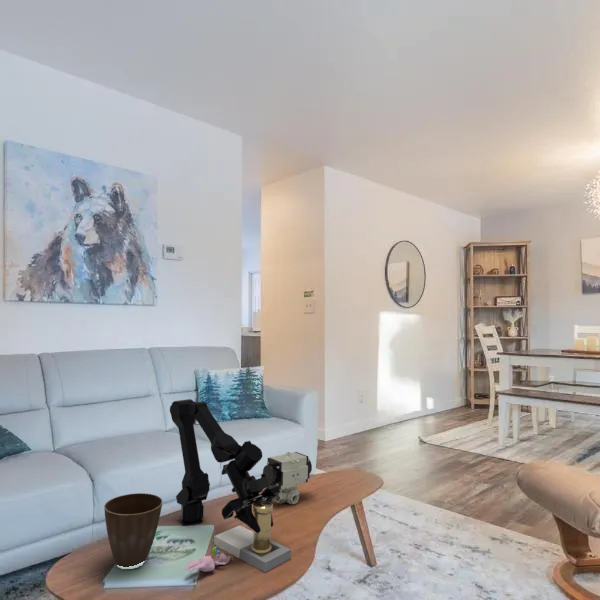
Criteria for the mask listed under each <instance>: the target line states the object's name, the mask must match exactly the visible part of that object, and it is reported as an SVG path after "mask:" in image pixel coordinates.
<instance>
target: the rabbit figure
mask: <svg viewBox="0 0 600 600" xmlns="http://www.w3.org/2000/svg"><path fill="white" fill-rule="evenodd" d="M218 548H219V547H218V546H215V545H214V547H212V549H211V553H212V554H213V555H215V558H212V555H203V556H202V557H200V558H198V559H197V560H192V561H189V562H188V563H187V565H186V566H185V571H187V570H189V571H188V573H191V572H193V571H195V570H200V571H201V572H203V573H204V572H205V573H207V572H213V571H214V570H215V567H216V566H219V565H222V566H223V565H228V564H229V562H230V560H231V561H234V555H232V554H230V555H228V552H227V551H223V552H221V551H220V550H219V549H218Z"/></svg>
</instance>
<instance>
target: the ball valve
mask: <svg viewBox="0 0 600 600" xmlns="http://www.w3.org/2000/svg"><path fill="white" fill-rule="evenodd" d="M312 470H313V465H312V462H311V460H310V458H309V456H308V455H306V454H303V453H300V452H298V451H293V452H290V451H287V452H285V453H283V454H281V455H275V456H271V457H267V461H266V465H265V466H264V467H263V469H262V474H264V473H267V472H269V474H270V475H271V477H272V483H270V487H271V486H273V485H275V486H278V488H279V490H280V493H279V494H278V495H277V496H276V497H275V498H274V499H273V500H274V501H275V502H276V504H285V503H287V504H289V505H295V504H297V503H298V502H299V499H300V495H301V494H300V493H301V492H300V489H299V488H298V487H297V486H298V485H302V484H305V483H309V481H308V480H309V479H310V474H311V473H312Z"/></svg>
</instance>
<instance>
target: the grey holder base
mask: <svg viewBox="0 0 600 600" xmlns="http://www.w3.org/2000/svg"><path fill="white" fill-rule="evenodd" d="M253 535H254V530H253V531H252V529H251V530H250V529H248V528H246V527H244V526H242V525H237V526H236V527H232V528H229V529H227V530H225V531H222V532H221V533H218V534H216V535H214V536H213V545H214V546H215V545H216V546H218V547H217V548H219V549H221V550H223V551H224V552H227V554H230V555H231V556H232V555H233V557H236V558H237V559H239V560H241V561H243V562H245V563H247V564H249V565H250V566H253V567H254V568H256V569H258V570H260V571H262V572H263V573H267V572H268V571H270V570H272V569H273V568H276V567H278V566H279V565H281V564H283V563H285V562H287V561H289V560H291V557H292V554H291V551H292V549H291V548H289V547H287V546H284V545H282V544H280V543H278V542H276V541H274V540H271V539H270V544H271V546H272V547H271V553H269V554H267V555H265V556H263V557H260V556H258V555H256V554H254V553H253V552H251V550H252V544H253Z"/></svg>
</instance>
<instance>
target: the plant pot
mask: <svg viewBox="0 0 600 600" xmlns="http://www.w3.org/2000/svg"><path fill="white" fill-rule="evenodd" d="M163 502H164V501H163V499H162V498H161V497H160V496H158V495H156V494H151V493H143V492H141V493H127V494H122V495H120V496H119V495H118V496H116V497H113V498H111V499H109V500H107V502H106V503H105V504H104V506H103V509H104V518H105V527H106V532H107V538H108V543H109V545H110V546H109V547H110V549H111V550H110V551H111V553H112V557H113V561H114V563H115V566H116V565H119V566H123V567H129V566H134V565H137V564H139V563H141V562H143V561H145V560H146V561H147V559H148V556H149V553H150V551H151V549H152V546H153V543H154V540H155V537H156V533H157V529H158V525H159V521H160V517H161V513H162V507H163ZM146 558H147V559H146Z"/></svg>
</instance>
